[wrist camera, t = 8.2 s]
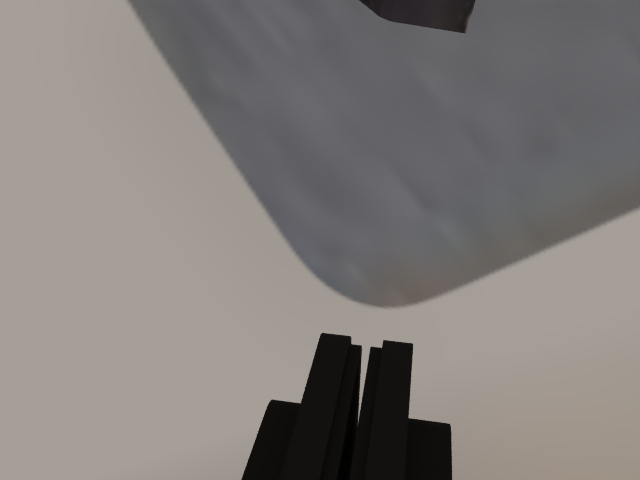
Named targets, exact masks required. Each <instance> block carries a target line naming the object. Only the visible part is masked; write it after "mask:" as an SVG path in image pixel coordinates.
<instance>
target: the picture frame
mask: <svg viewBox="0 0 640 480" xmlns="http://www.w3.org/2000/svg"><path fill="white" fill-rule="evenodd" d="M360 1H361V2H362V3H363V4H365V5H366V6H367V7H368V8H369V9H371V10H372V11H373V12H374V13H376V14H377V15H378V16H379V17H382V18H384V19H386V20H389V21H392V22H398V23H405V24H411V25H417V26H423V27H429V28H435V29H442V30H448V31H454V32H460V33H466V32H467V28H468V25H469V21H470V17H471V14H472V10H473V6H474V3H475V0H360Z"/></svg>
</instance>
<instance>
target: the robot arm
mask: <svg viewBox="0 0 640 480" xmlns="http://www.w3.org/2000/svg"><path fill="white" fill-rule="evenodd" d="M361 353H362V346H361V345H352V344H351V337H350V336H344V335H335V334H327V333H322V334H321V336H320V338H319V342H318V345H317V349H316V352H315V356H314V359H313V363H312V367H311V370H310V374H309V377H308V380H307V384H306V387H305V391H304V394H303V398H302V401H301V404H300V403H293V402H285V401H278V400H271V401H270V402H269V404H268V406H267V409H266V411H265V414H264V417H263V420H262V423H261V426H260V428H259V431H258V434H257V437H256V440H255V443H254V445H253V449H252V451H251V454H250V457H249V460H248V463H247V466H246V468H245V471H244V474H243V477H242V480H452V454H451V453H452V452H451V426H450V424H447V423H440V422H432V421H425V420H417V419H410V418H408V415H409V400H410V385H411V369H412V354H413V344H412V343H403V342H395V341H387V340H386V341H385V340H384V341H383V346H382V348H377V347H371V348H370V354H369V361H368V367H367V373H366V379H365V385H364V391H363V397H362V403H361V410H360V416H359V422H358V409H359V391H360V373H361Z"/></svg>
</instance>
